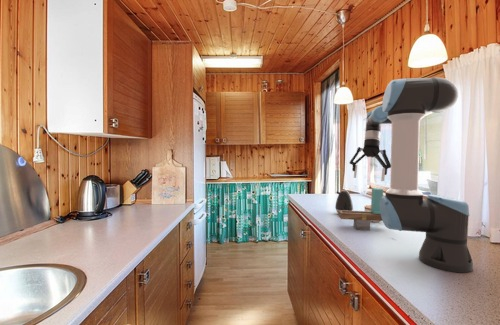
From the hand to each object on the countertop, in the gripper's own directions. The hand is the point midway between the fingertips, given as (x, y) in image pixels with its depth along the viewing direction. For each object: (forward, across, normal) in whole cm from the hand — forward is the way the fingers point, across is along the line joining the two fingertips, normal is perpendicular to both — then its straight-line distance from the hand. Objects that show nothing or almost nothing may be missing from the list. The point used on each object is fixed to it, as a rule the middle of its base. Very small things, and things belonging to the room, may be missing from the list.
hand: (368, 179), depth 137 cm
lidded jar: (+21, -8, -17) cm, 28 cm away
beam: (+25, +1, 0) cm, 25 cm away
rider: (+19, -5, +1) cm, 20 cm away
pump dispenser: (+20, +7, -28) cm, 35 cm away
